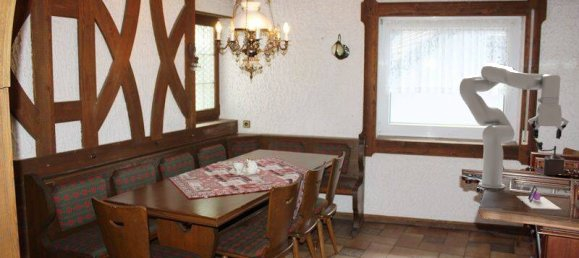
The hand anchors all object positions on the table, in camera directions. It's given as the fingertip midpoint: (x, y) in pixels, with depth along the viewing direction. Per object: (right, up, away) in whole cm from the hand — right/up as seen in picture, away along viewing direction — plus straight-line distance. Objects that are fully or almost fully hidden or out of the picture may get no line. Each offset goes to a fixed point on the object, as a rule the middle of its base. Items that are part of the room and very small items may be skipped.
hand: (547, 138), depth 246 cm
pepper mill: (+32, -22, +64) cm, 75 cm away
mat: (-8, -29, -7) cm, 31 cm away
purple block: (-8, -29, -5) cm, 30 cm away
